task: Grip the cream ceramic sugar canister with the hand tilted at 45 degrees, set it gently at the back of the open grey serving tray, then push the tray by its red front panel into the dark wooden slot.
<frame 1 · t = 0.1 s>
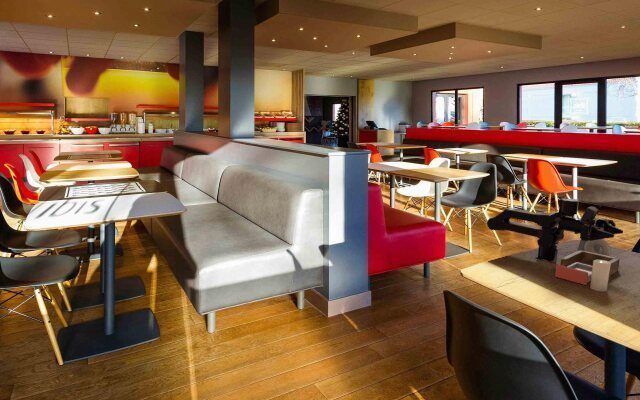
hand: (618, 234, 172), 17 cm above the table, tool horizontal, fingers open, 9 cm apart
slot: (587, 271, 180), on the table
coffeepot: (591, 253, 203), on the table
donut: (595, 260, 194), on the table
tray: (580, 269, 174), point 2 cm above the table, slide at 8.0 cm
canister: (598, 288, 163), on the table
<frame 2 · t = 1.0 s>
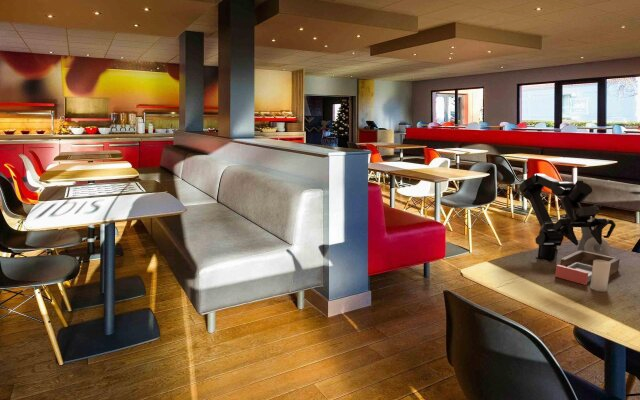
hand: (589, 244, 168), 14 cm above the table, tool tilted 45°, fingers open, 9 cm apart
nothing on the table moved.
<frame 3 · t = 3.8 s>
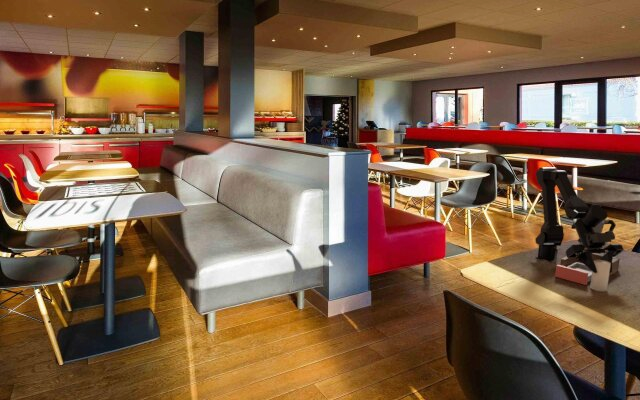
hand: (603, 272, 160), 7 cm above the table, tool tilted 45°, fingers closed on canister, 5 cm apart
canister: (598, 288, 163), on the table, touching gripper
everything else where it was.
when the fingers open (8 cm above the table, at t = 8.0 s): canister stays where it is, resting on tray.
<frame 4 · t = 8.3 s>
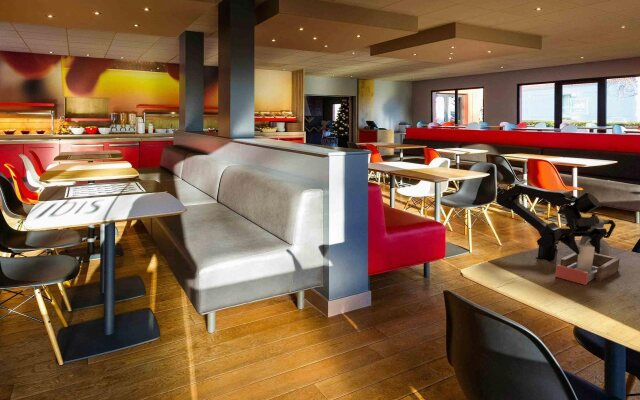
hand: (588, 253, 174), 9 cm above the table, tool tilted 45°, fingers open, 8 cm apart
tray: (580, 269, 174), point 2 cm above the table, slide at 8.0 cm, touching canister
canister: (583, 271, 177), point 1 cm above the table, touching tray
everything else where it was.
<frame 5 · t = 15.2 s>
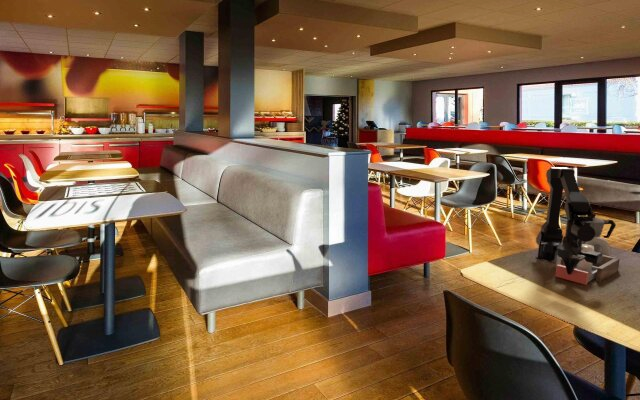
hand: (569, 274, 169), 3 cm above the table, tool pointing down, fingers closed, pressing on tray
tray: (580, 269, 174), point 2 cm above the table, slide at 7.7 cm, touching canister, gripper
everything else where it was.
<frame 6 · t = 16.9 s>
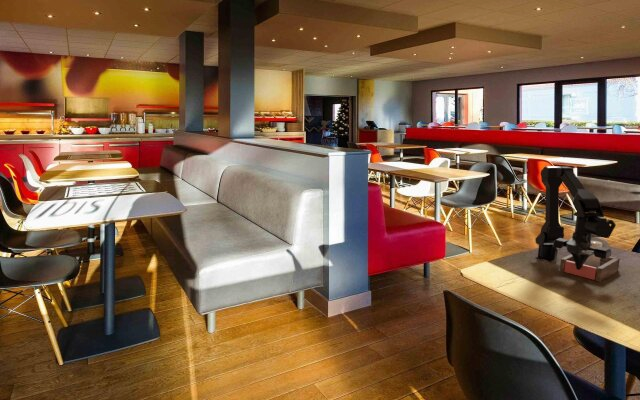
hand: (578, 269, 173), 3 cm above the table, tool pointing down, fingers closed, pressing on tray
tray: (588, 265, 179), point 2 cm above the table, slide at -0.1 cm, touching canister, gripper
canister: (591, 266, 182), point 1 cm above the table, touching tray
everything else where it was.
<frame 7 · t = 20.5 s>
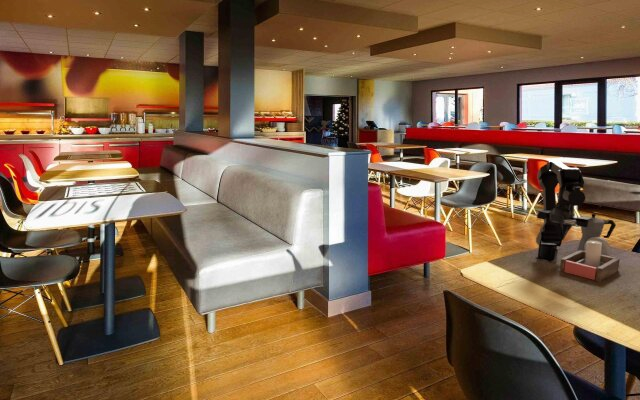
hand: (561, 239, 177), 13 cm above the table, tool pointing down, fingers closed
tray: (588, 265, 179), point 2 cm above the table, slide at 0.0 cm, touching canister
everything else where it was.
at the end: tray slide at 0.0 cm; canister inside the target area on the slot (3.5 cm from its centre), point 1.1 cm above the slot's base; canister tilted 2° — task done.
